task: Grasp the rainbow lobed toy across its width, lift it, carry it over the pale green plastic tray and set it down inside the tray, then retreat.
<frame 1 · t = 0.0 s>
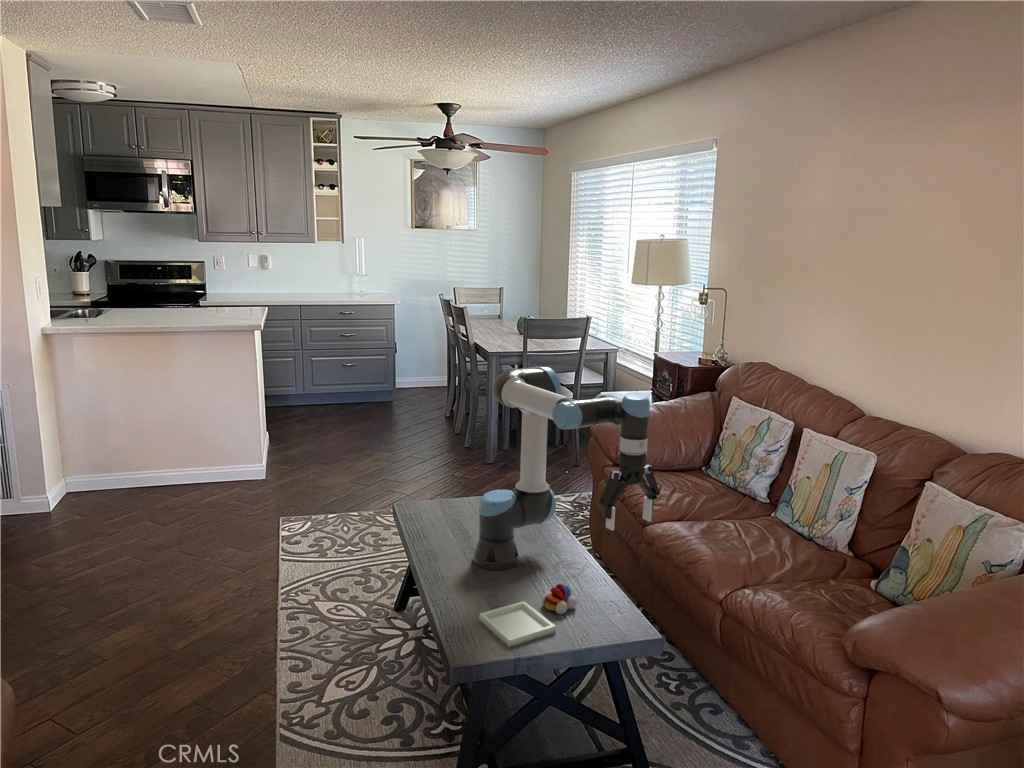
hand: (628, 524, 204), 28 cm above the table, fingers open, 13 cm apart
rainbow lobed toy: (558, 608, 213), on the table
tray: (516, 626, 202), on the table
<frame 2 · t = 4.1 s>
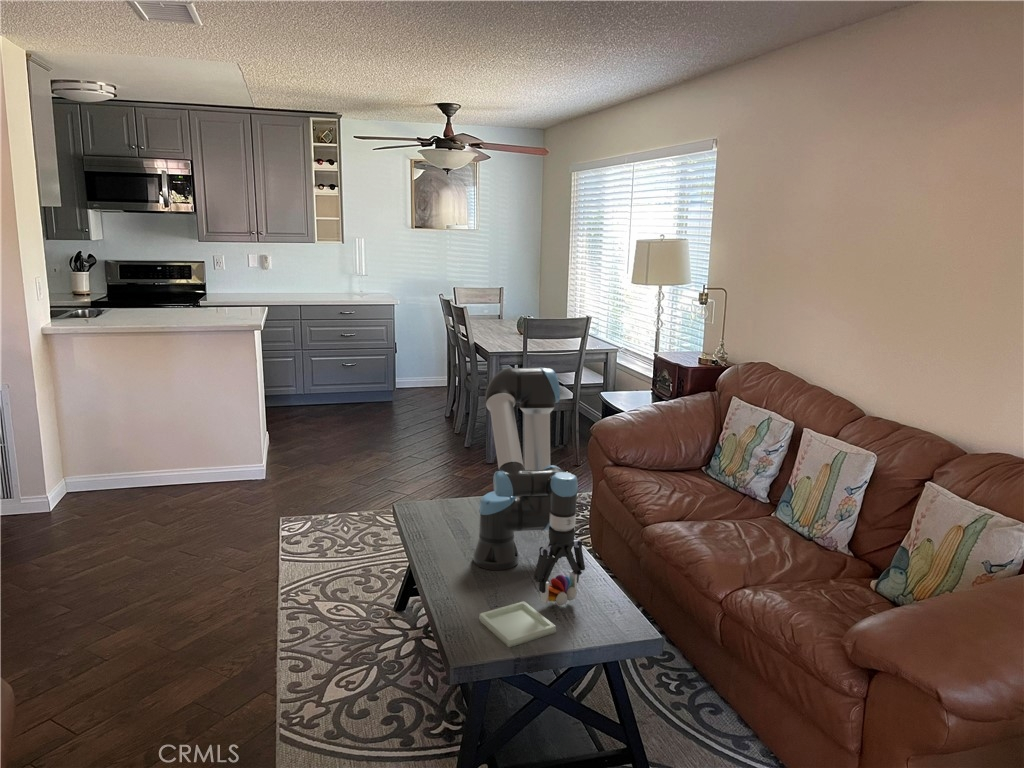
hand: (558, 597, 213), 3 cm above the table, fingers closed on rainbow lobed toy, 9 cm apart
rainbow lobed toy: (558, 599, 213), point 2 cm above the table, touching gripper
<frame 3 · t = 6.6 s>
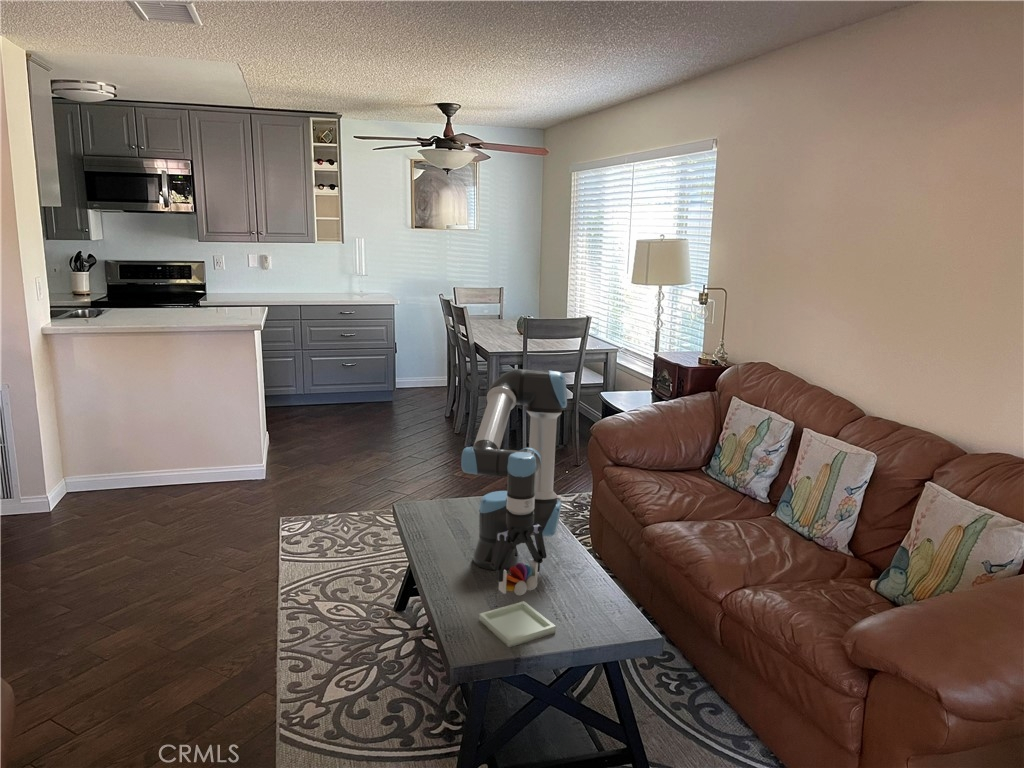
hand: (518, 587, 199), 12 cm above the table, fingers closed on rainbow lobed toy, 9 cm apart
rainbow lobed toy: (518, 589, 199), point 11 cm above the table, touching gripper
when the fingers open (3 cm above the table, at t = 9.1 s): rainbow lobed toy drops 2 cm, resting on tray.
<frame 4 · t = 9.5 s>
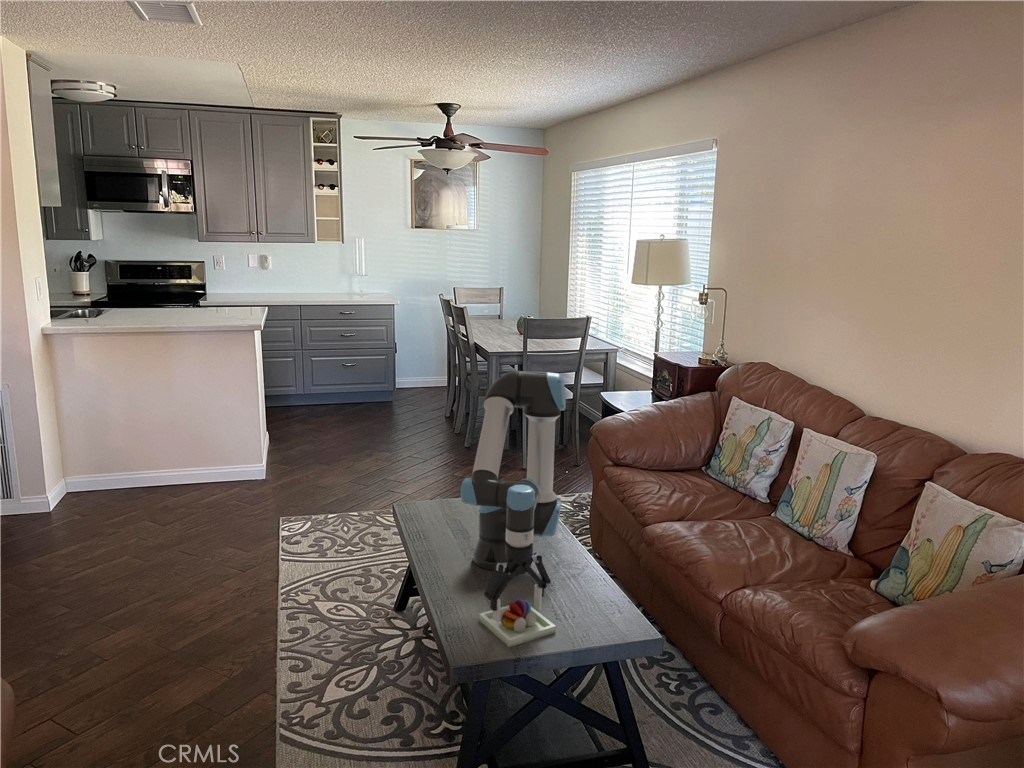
hand: (517, 614, 201), 4 cm above the table, fingers open, 13 cm apart
rainbow lobed toy: (517, 625, 202), resting on tray
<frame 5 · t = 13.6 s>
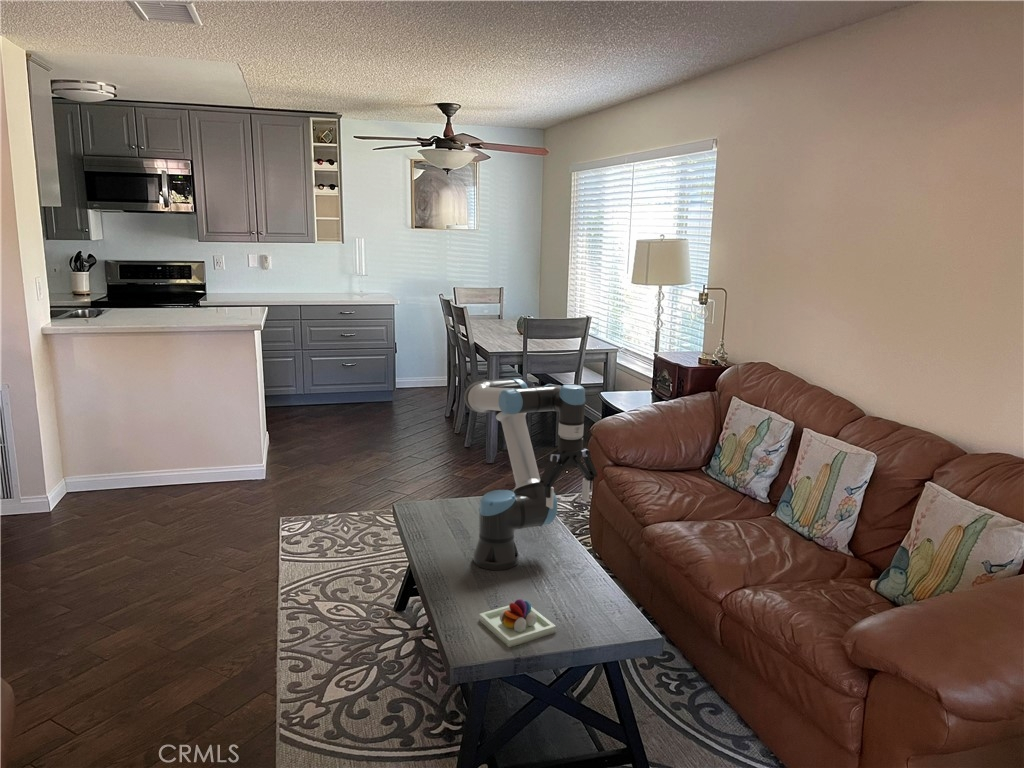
hand: (567, 503, 222), 27 cm above the table, fingers open, 13 cm apart
nothing on the table moved.
at the end: rainbow lobed toy inside the target area on the tray (0.4 cm from its centre), point 0.4 cm above the tray's base; rainbow lobed toy tilted 0°; the gripper is holding nothing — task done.
